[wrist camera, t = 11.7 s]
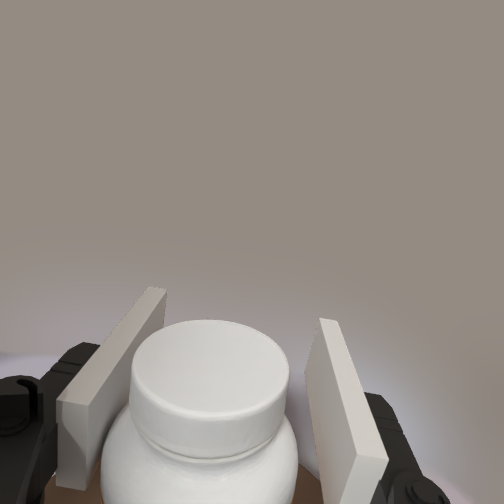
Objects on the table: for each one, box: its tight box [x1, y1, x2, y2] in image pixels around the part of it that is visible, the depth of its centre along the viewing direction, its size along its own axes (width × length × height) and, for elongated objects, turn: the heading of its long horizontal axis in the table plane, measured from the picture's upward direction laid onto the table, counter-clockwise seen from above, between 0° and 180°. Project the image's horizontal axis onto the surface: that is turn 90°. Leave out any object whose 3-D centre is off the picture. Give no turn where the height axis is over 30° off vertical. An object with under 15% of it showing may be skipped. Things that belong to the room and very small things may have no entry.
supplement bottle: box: [100, 319, 298, 504], centre depth 10 cm, size 5×5×10 cm
